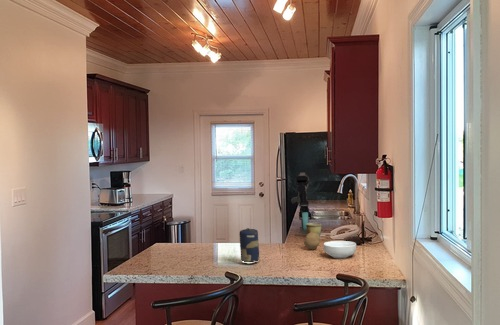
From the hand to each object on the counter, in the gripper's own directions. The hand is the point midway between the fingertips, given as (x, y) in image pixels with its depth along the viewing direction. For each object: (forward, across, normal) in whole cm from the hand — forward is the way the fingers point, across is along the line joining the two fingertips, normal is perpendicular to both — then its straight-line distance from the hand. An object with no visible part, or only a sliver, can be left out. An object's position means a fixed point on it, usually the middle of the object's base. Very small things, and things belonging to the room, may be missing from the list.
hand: (303, 214), depth 307 cm
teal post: (+12, +12, 0) cm, 16 cm away
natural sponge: (+16, +62, -1) cm, 64 cm away
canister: (+17, +87, -35) cm, 95 cm away
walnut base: (+13, +12, 0) cm, 17 cm away
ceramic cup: (+14, +30, +4) cm, 33 cm away
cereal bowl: (+17, +82, +11) cm, 84 cm away
